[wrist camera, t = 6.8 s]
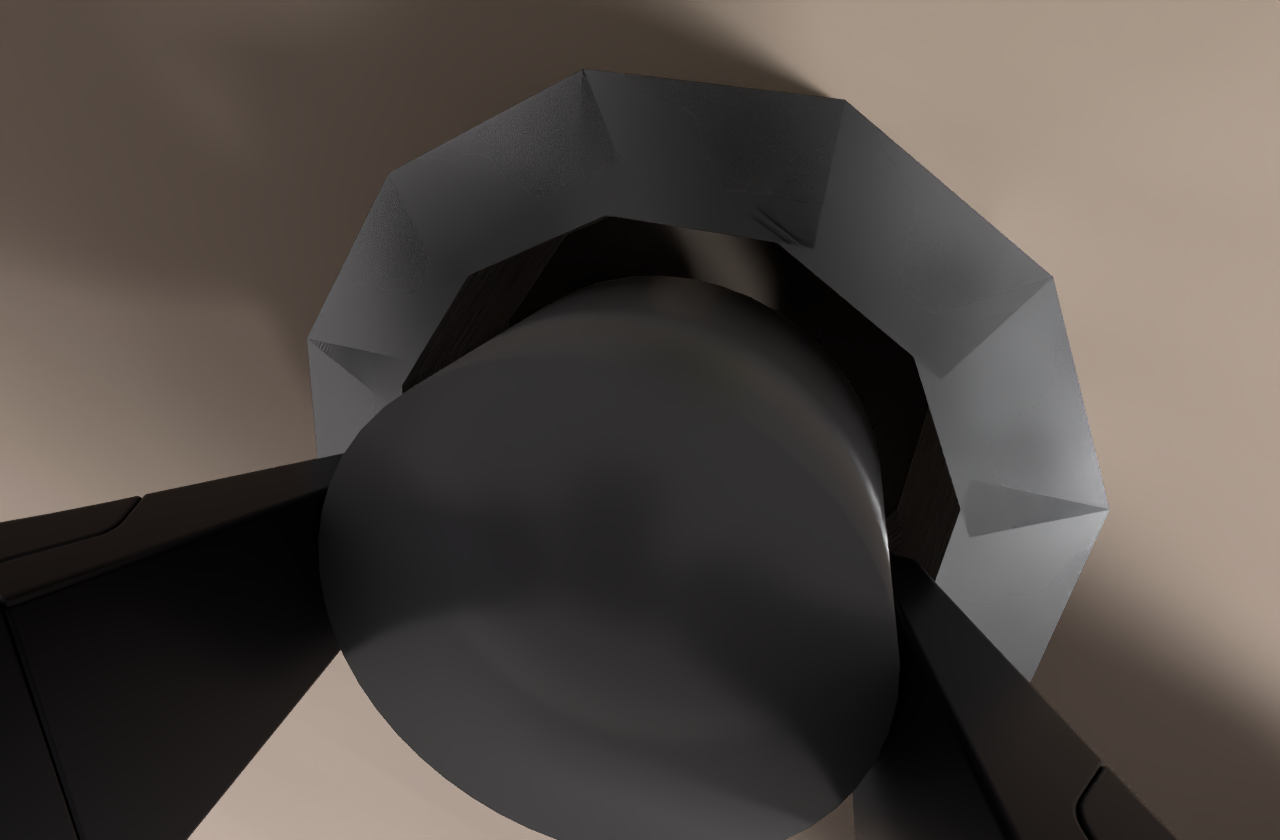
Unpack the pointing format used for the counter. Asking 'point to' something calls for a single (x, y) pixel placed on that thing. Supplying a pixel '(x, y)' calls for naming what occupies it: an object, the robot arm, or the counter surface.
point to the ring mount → (810, 231)
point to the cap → (625, 569)
